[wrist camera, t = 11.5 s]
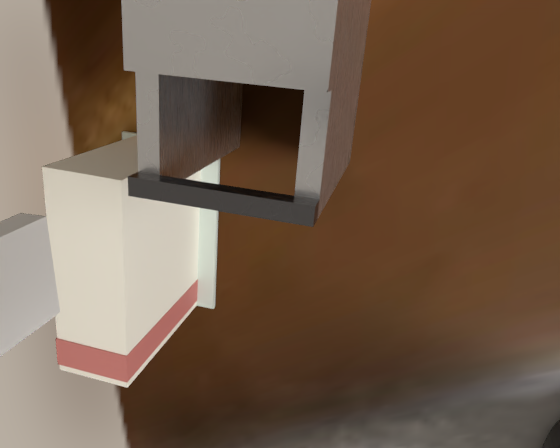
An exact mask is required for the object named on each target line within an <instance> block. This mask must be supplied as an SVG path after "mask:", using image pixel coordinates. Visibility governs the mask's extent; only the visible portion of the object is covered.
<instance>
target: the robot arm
mask: <svg viewBox="0 0 560 448" xmlns="http://www.w3.org/2000/svg"><path fill="white" fill-rule="evenodd" d="M59 313H60V307H59V300H58V293H57V286H56V280H55V273H54V266H53V259H52V252H51V245H50V239H49V232H48V225H47V218H46V216H39V215H32V214H24V213H20V214H17V215H15V216H12V217H10V218H8V219H5V220H3V221H1V222H0V357H1V356H2V355H3V354H5V353H6V352H7V351H9V350H10V349H11V348H13V347H14V346H15V345H17V344H18V343H19V342H21V341H22V340H24V339H25V338H26V337H28V336H29V335H30V334H32V333H33V332H34V331H36V330H37V329H38V328H40V327H41V326H42V325H44V324H45V323H46V322H48V321H49V320H50V319H52V318H53V317H55V316H56V315H57V314H59ZM543 448H560V420H559V421H558V422H557V424H556V425H555V426H554V427H553V429H552V430H551V432H550V433H549V435H548V437H547V438H546V441H545V443H544V446H543Z"/></svg>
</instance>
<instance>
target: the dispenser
mask: <svg viewBox="0 0 560 448" xmlns="http://www.w3.org/2000/svg"><path fill="white" fill-rule="evenodd" d="M370 5H371V0H121V6H122V33H123V61H124V71H134V72H135V77H136V113H137V149H138V172H136V173H134V174H132V175H130V176H128V196H132V197H138V198H144V199H150V200H156V201H162V202H168V203H174V204H180V205H186V206H192V207H198V208H204V209H210V210H216V211H221V212H227V213H233V214H239V215H245V216H251V217H257V218H263V219H269V220H275V221H281V222H287V223H293V224H299V225H305V226H311V227H313V226H314V224H315V223H316V221H317V219H318V217H319V215H320V214H321V212H322V210H323V208H324V207H325V205H326V203H327V201H328V199H329V198H330V196H331V194H332V192H333V191H334V189H335V187H336V185H337V184H338V182H339V180H340V178H341V176H342V175H343V173H344V171H345V169H346V168H347V166H348V164H349V162H350V156H351V148H352V141H353V133H354V126H355V118H356V111H357V103H358V96H359V88H360V80H361V73H362V65H363V58H364V50H365V43H366V35H367V28H368V20H369V12H370ZM243 83H244V84H254V85H263V86H272V87H281V88H291V89H300V90H304V99H303V110H302V121H301V132H300V142H299V153H298V164H297V175H296V185H295V196H291V195H285V194H279V193H272V192H266V191H259V190H253V189H246V188H240V187H233V186H227V185H220V184H214V183H208V182H201V181H195V180H188V179H186V178H188V177H189V176H191V175H193V174H195V173H196V172H198V171H200V170H201V169H203V168H205V167H206V166H208V165H210V164H212V163H213V162H215V161H217V160H218V159H220V158H222V157H223V156H225V155H227V154H228V153H230V152H232V151H234V150H235V149H237V148H239V147H240V132H241V111H242V90H243Z"/></svg>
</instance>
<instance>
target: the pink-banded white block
mask: <svg viewBox="0 0 560 448" xmlns="http://www.w3.org/2000/svg"><path fill="white" fill-rule="evenodd" d="M136 172H138V149H137V135H136V136H133V137H130V138H127V139H124V140H121V141H118V142H115V143H112V144H109V145H106V146H103V147H100V148H97V149H94V150H91V151H88V152H85V153H82V154H79V155H76V156H73V157H69V158H67V159H64V160H61V161H58V162H55V163H51V164H49V165H45V166H42V173H43V185H44V196H45V207H46V218H47V225H48V232H49V239H50V245H51V252H52V259H53V266H54V273H55V280H56V286H57V293H58V300H59V307H60V313H59V314H57V315H56V316H55V317H56V329H57V338H56V349H57V360H58V364H59V365H60V370H63V371H67V372H71V373H74V374H78V375H82V376H86V377H89V378H93V379H97V380H101V381H104V382H108V383H112V384H115V385H119V386H123V387H127V388H128V387H129V385H130V384H131V383H132V382H133V381H134V379H135V378H136V377H137V376H138V375H139V373H140V372H141V371H142V370H143V369H144V367H145V366H146V365H147V364H148V363H149V362H150V360H151V359H152V358H153V357H154V356H155V354H156V353H157V352H158V351H159V350H160V348H161V347H162V346H163V345H164V344H165V342H166V341H167V340H168V339H169V338H170V336H171V335H172V334H173V333H174V332H175V331H176V329H177V328H178V327H179V326H180V325H181V323H182V322H183V321H184V320H185V319H186V317H187V316H188V315H189V314H190V313H191V311H192V310H193V309H194V308H195V307H196V305H197V292H198V279H197V275H198V243H199V211H200V208H198V207H192V206H186V205H180V204H174V203H168V202H162V201H156V200H150V199H144V198H138V197H132V196H128V176H130V175H132V174H134V173H136ZM186 179H188V180H195V181H200V180H201V170H200V171H198V172H196V173H195V174H193V175H191V176H189V177H188V178H186Z"/></svg>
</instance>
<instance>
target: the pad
mask: <svg viewBox="0 0 560 448" xmlns="http://www.w3.org/2000/svg"><path fill="white" fill-rule="evenodd" d="M136 135H137V133H135V132H127V131H123V132H122V140H124V139H127V138H130V137H133V136H136ZM219 180H220V159H218V160H217V161H215V162H213V163H212V164H210V165H208V166H206V167H205V168H203V169H201V180H200V181H201V182H208V183H214V184H219ZM217 239H218V211H216V210H210V209H204V208H200V211H199V243H198V275H197V279H198V292H197V306H201V307H206V308H211V309H214V308H215V297H216V268H217Z"/></svg>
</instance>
